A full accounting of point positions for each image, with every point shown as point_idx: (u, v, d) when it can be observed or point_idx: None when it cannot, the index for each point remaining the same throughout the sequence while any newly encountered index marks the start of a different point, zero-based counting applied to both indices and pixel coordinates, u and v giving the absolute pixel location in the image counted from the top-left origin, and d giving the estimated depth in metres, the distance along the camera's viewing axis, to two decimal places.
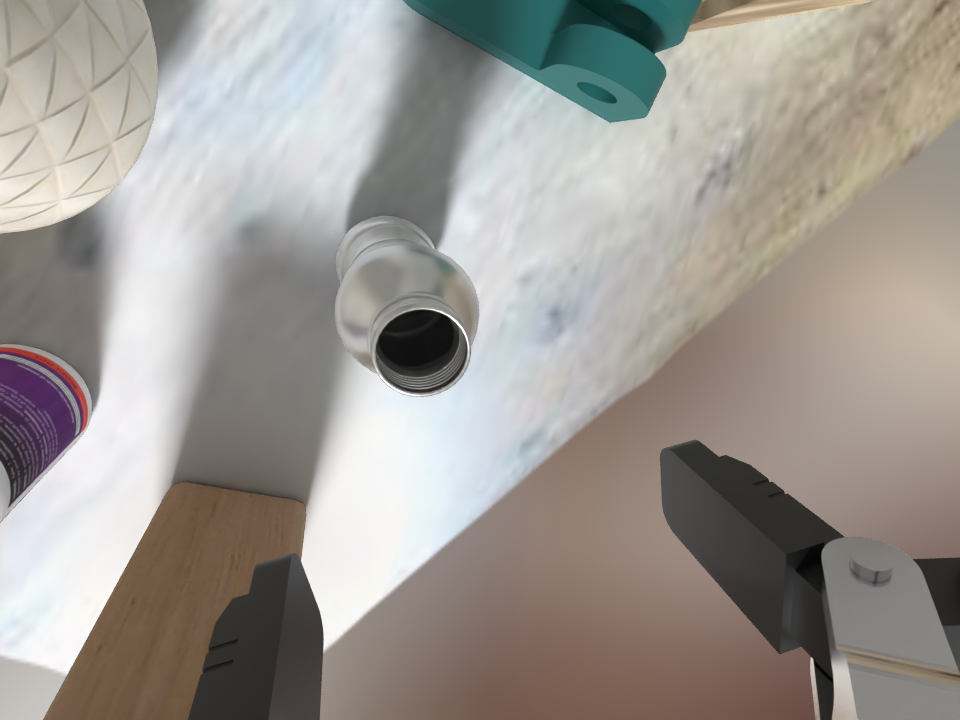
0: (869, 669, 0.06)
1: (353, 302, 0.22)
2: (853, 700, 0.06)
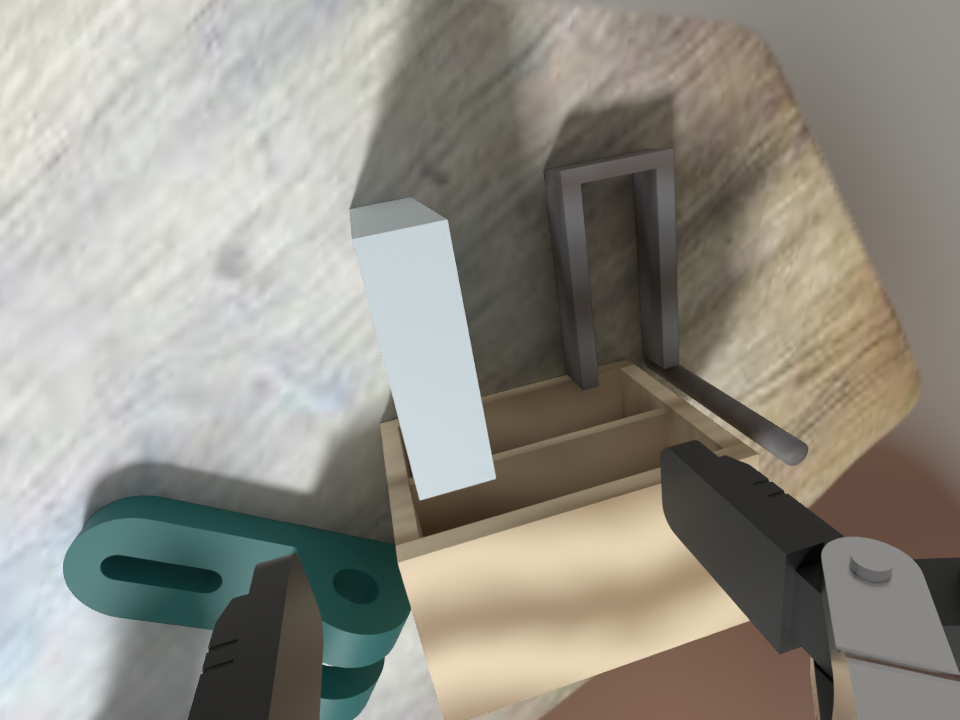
0: (869, 669, 0.06)
1: None
2: (853, 700, 0.06)
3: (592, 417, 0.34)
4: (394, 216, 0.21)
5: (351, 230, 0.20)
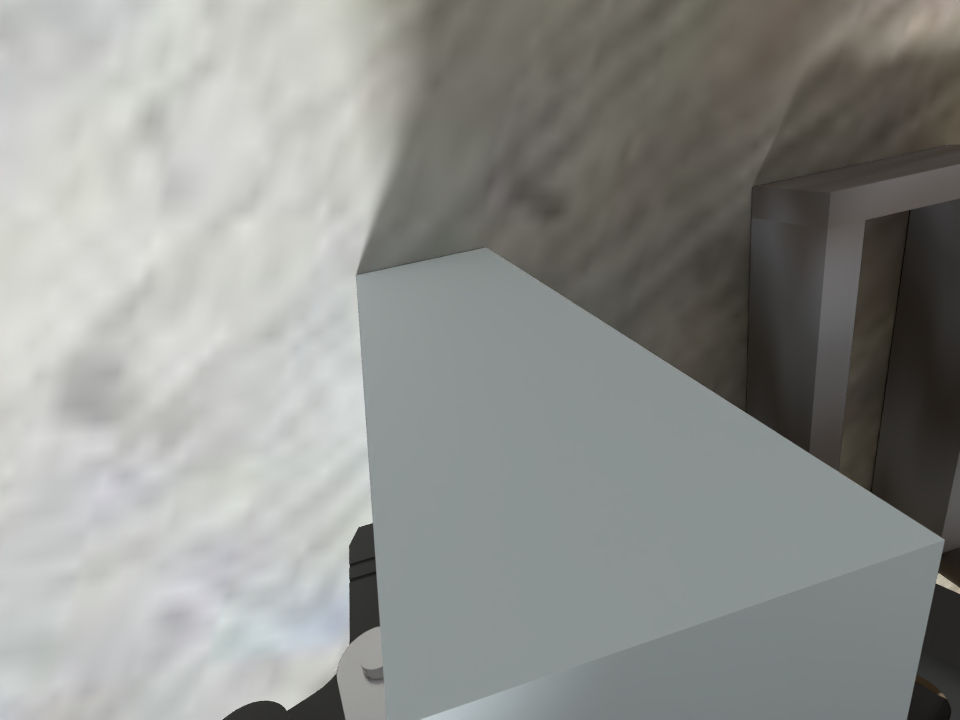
0: None
1: None
2: None
3: None
4: (509, 363, 0.06)
5: (371, 474, 0.05)
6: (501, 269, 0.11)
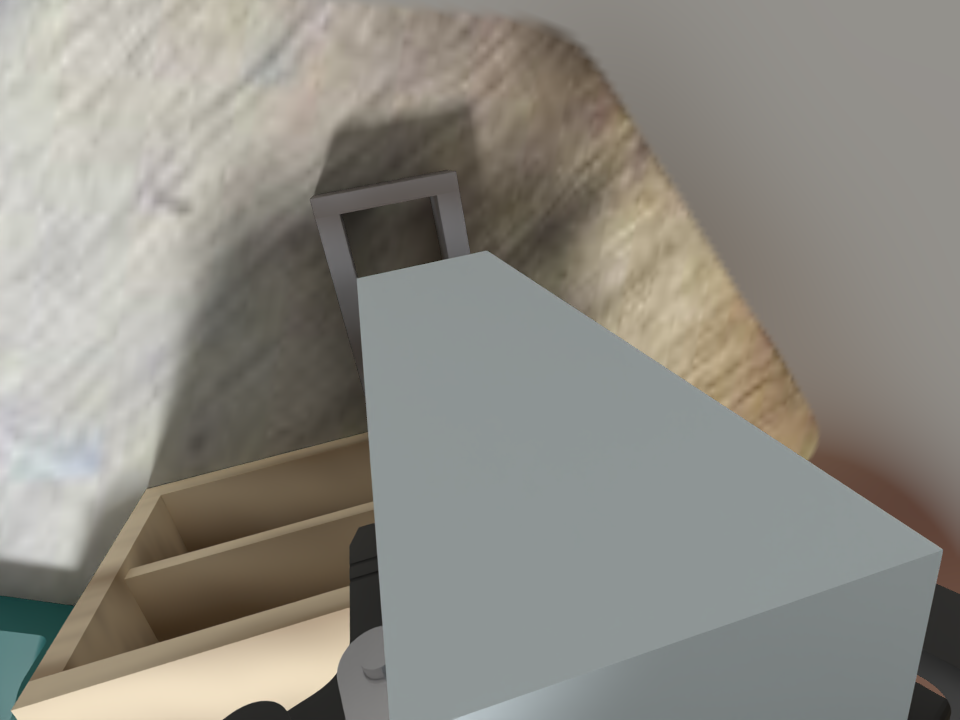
0: None
1: None
2: None
3: None
4: (510, 369, 0.06)
5: (373, 481, 0.05)
6: (502, 273, 0.11)
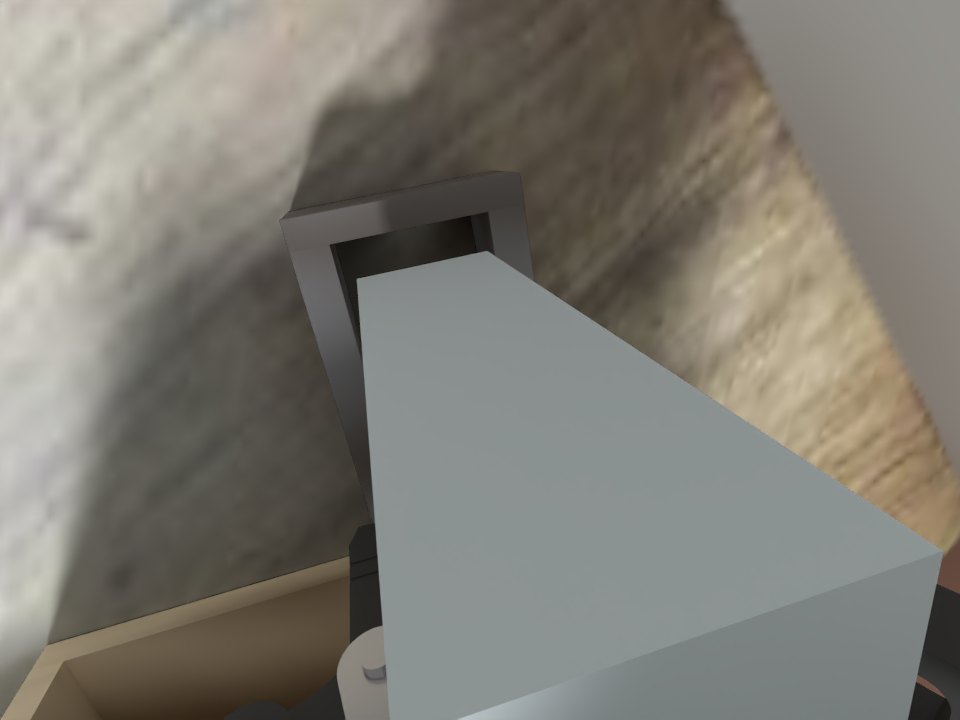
0: None
1: None
2: None
3: None
4: (511, 369, 0.06)
5: (373, 481, 0.05)
6: (502, 273, 0.11)
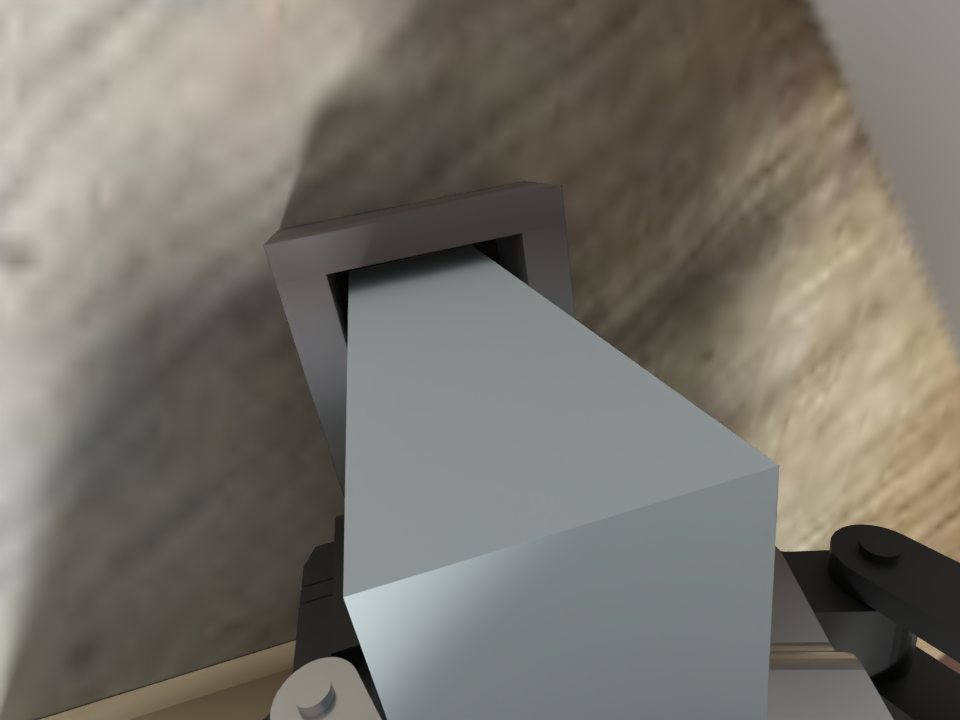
0: None
1: None
2: None
3: None
4: (474, 344, 0.07)
5: (347, 432, 0.06)
6: (481, 265, 0.12)
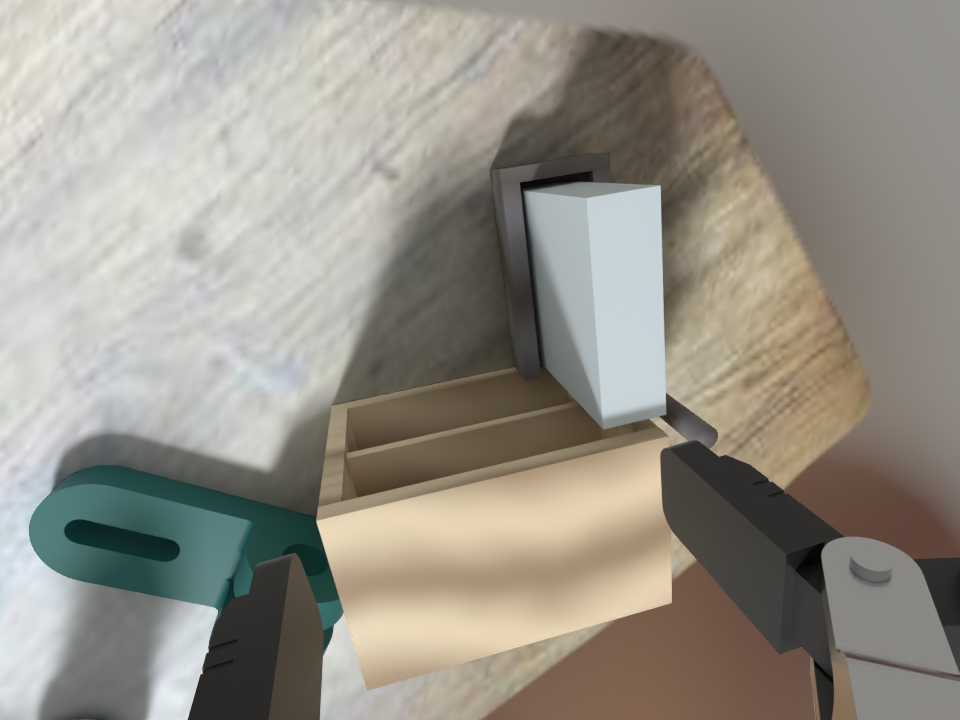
0: (869, 669, 0.06)
1: None
2: (853, 700, 0.06)
3: (538, 409, 0.35)
4: (589, 188, 0.25)
5: (566, 195, 0.24)
6: (576, 182, 0.30)
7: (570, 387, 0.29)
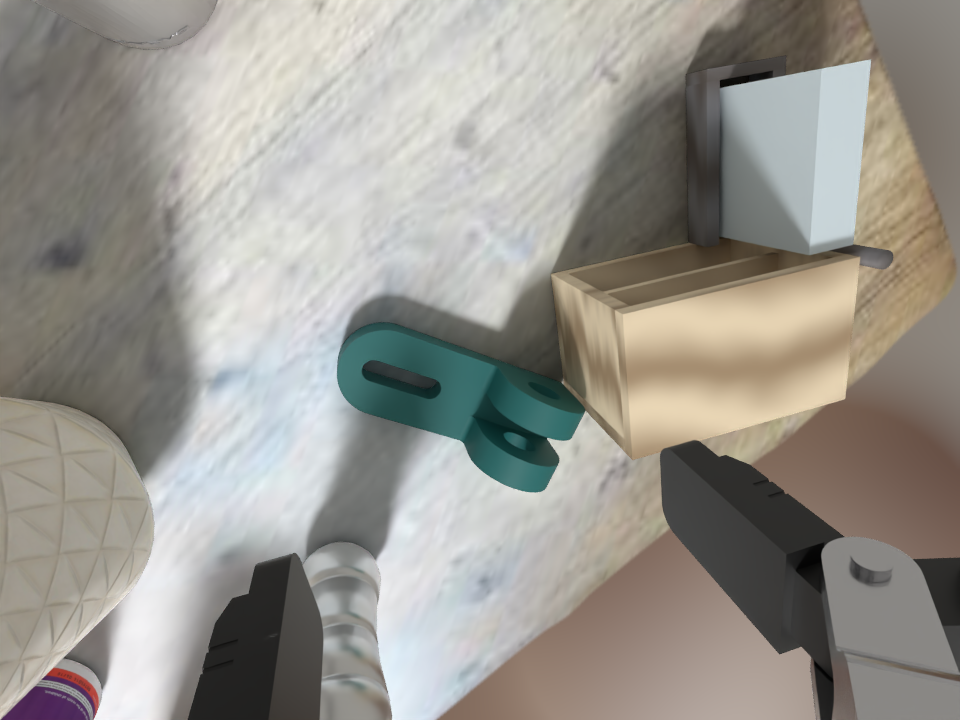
0: (869, 669, 0.06)
1: None
2: (853, 700, 0.06)
3: None
4: None
5: None
6: None
7: (762, 238, 0.37)
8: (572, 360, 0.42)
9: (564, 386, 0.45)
